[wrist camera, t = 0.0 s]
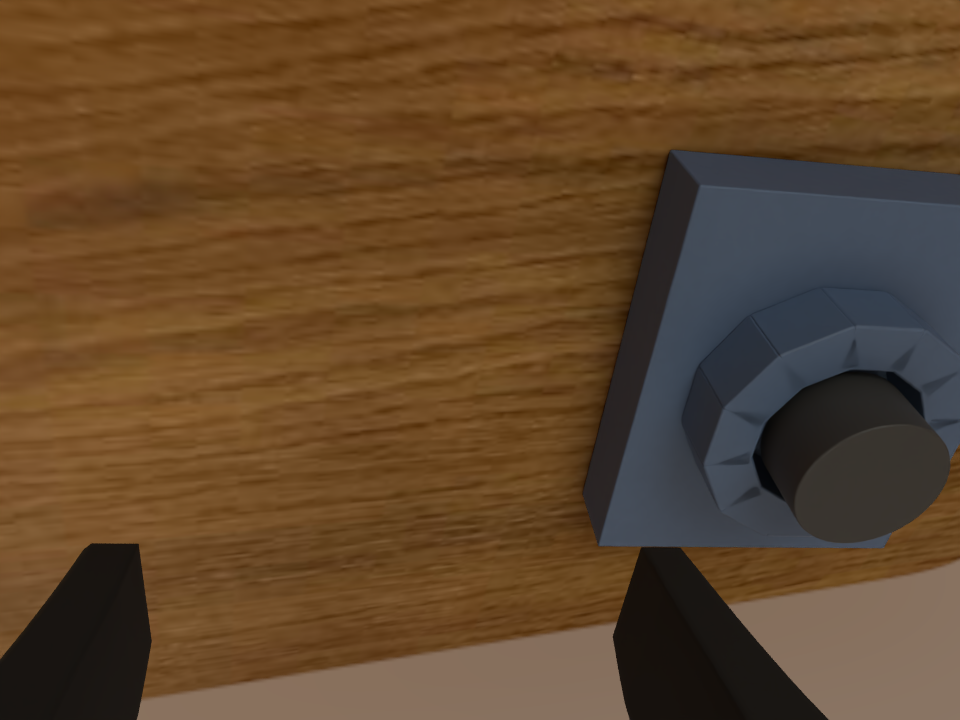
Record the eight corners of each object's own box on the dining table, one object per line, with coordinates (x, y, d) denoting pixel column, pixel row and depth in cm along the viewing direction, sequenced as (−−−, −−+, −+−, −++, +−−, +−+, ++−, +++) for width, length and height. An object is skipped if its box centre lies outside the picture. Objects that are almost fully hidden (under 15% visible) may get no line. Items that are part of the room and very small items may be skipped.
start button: (870, 486, 22) (912, 544, 20) (741, 484, 22) (773, 543, 20) (927, 373, 20) (978, 427, 18) (786, 367, 20) (826, 422, 18)
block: (849, 498, 27) (915, 595, 24) (581, 494, 26) (612, 596, 23) (1007, 177, 21) (1123, 249, 18) (669, 149, 20) (729, 220, 17)
